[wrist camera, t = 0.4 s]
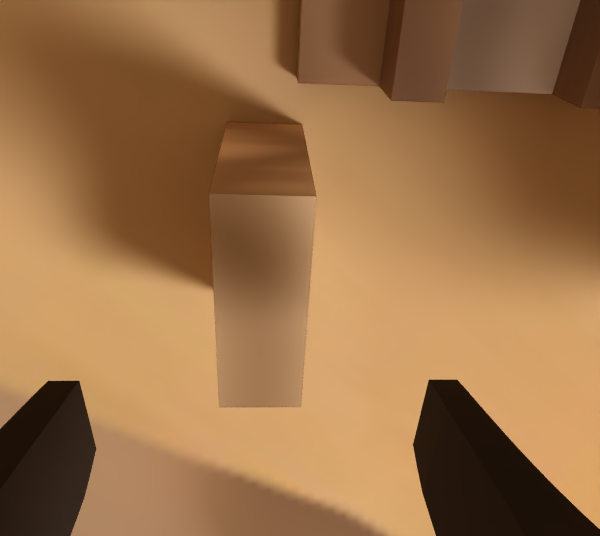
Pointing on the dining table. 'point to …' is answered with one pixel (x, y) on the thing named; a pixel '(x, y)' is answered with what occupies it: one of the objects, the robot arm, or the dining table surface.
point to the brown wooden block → (261, 263)
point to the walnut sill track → (453, 47)
